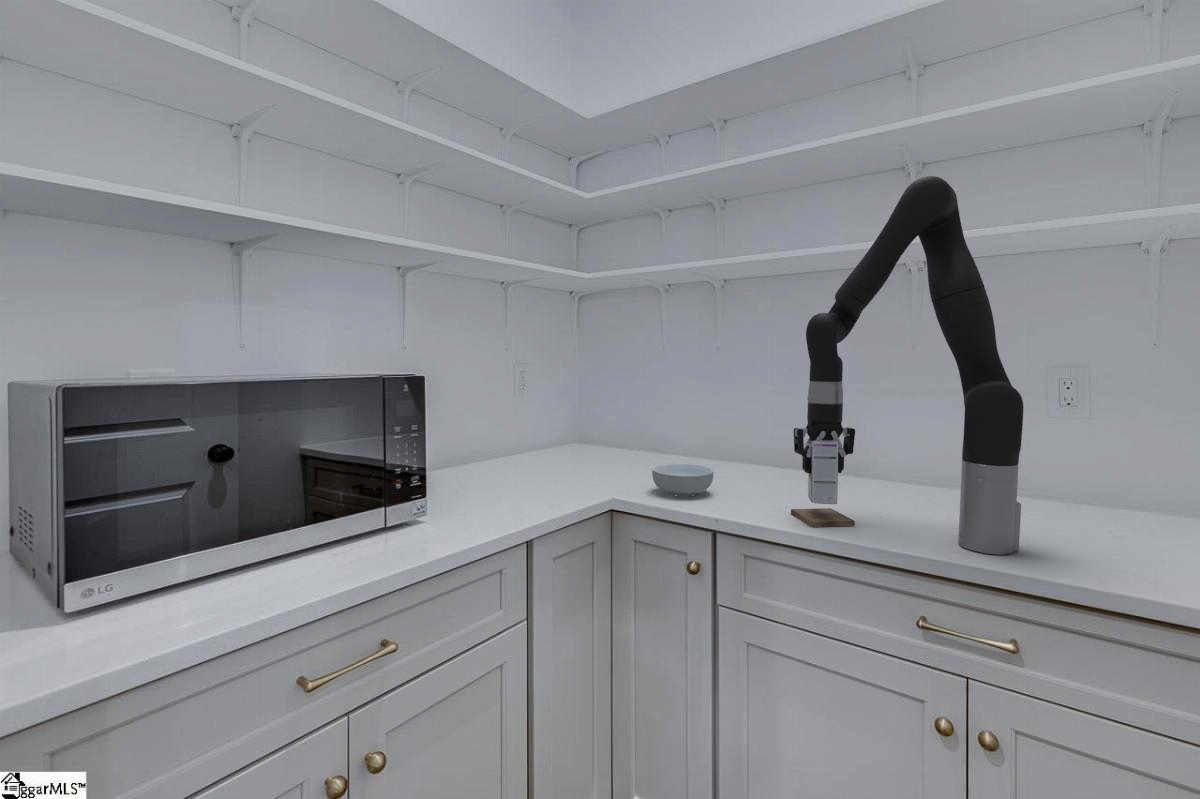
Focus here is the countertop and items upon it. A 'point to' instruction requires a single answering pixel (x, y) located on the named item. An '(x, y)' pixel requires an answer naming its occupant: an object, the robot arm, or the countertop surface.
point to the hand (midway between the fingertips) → (823, 472)
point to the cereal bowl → (682, 478)
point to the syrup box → (824, 472)
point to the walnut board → (822, 517)
